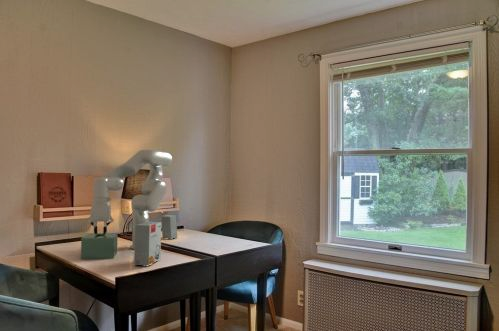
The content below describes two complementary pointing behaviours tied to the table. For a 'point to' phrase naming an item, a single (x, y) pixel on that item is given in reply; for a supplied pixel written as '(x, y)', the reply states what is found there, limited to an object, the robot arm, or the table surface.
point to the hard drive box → (147, 243)
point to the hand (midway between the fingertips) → (100, 233)
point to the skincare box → (169, 226)
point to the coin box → (99, 246)
